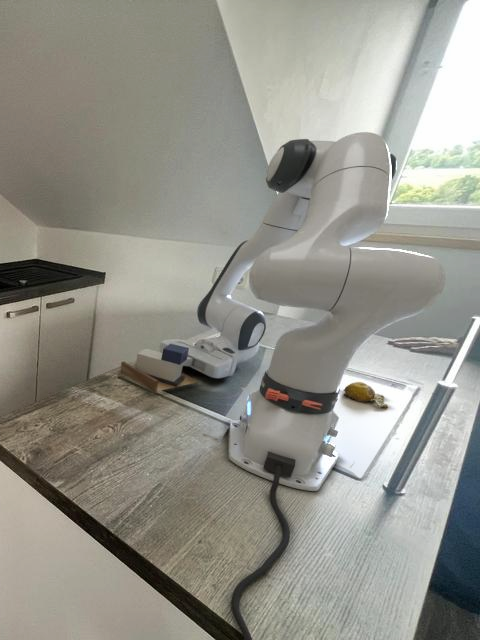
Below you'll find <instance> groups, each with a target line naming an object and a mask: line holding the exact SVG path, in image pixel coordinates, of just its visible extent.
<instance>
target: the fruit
mask: <svg viewBox="0 0 480 640" xmlns="http://www.w3.org/2000/svg"><path fill="white" fill-rule="evenodd" d="M343 392H345V394H346V396H348V397H349V398H351V399H352V400H355V401H356V402H363V403H364V402H368V401H376V402H375V405H376V406H377V407H378V408H380V407H381V408H389V406H388V404H386V403H384V402H385V401H384V400H385V396H384V395H383V394H377V393H376V392H375V390H374V389H373V388H372V386H370V385H368V384H367V383H365V382H362V381H356V382H352V383H350V384H348V385H347V386H345V388H344V389H343ZM348 397H347V398H348Z"/></svg>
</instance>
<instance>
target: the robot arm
mask: <svg viewBox="0 0 480 640" xmlns="http://www.w3.org/2000/svg"><path fill="white" fill-rule="evenodd" d="M397 170H398V161H397V157H396V155H395V154H393V153H391V152H389V147H388V145H387V142H386V140H385V139H384V138H383V137H382V136H380V135H379V134H377V133H375V132H369V131H361V132H353V133H351V134H348V135H346V136H342V137H341V138H339V139H338V140H337V141H333V140H309V139H308V138H299V139H292V140H289V141H287V142H285V143H284V144H282V145H281V146H280V147H279V148H278V149H277V151H276V153H275V154H274V155H273V156H272V158H271V159H270V161H269V164H268V166H267V169H266V176H265V177H266V178H265V182H266V185H267V188H269V189H270V190H272V191H274V192H277V194H276V196H275V198H274V199H273V201H272V202H271V204H270V206H269V207H268V209H267V211H266V213H265V216H264V217H263V219H262V222H261V224H260V225H259V228H258V229H257V230H256V232H255V233H254V234H253V235H252V236H251V237H250V238H249V239H247V240H244V241H243V242H241V243H240V244H239V245H238V246H237V247H236V249H235V250H234V251H233V253H232V254H231V256H230V257H229V259H228V260H227V262H226V263H225V265H224V266H223V268H222V270H221V271H220V273H219V275H218V277H217V278H216V280H215V281H214V283H213V285H212V286H211V288H210V290H209V291H208V293H206V294H205V296H204V297H203V298H202V299H201V301H200V302H199V304H198V306H197V308H196V315H197V320H198V322H199V324H200V325H203V326H205V327H207V328H210V329H213V330H215V331H217V332H219V333H220V335H218V336H212V337H208V338H202V339H199V340H197V341H196V342H195V343H191V342H189V341H186V340H183V339H180V338H179V339H178V338H177V339H176V338H172V339H164V340H161V341H160V343H159V350H158V352H160V353H163V348H165V347H166V346H168V345H169V344H175V345H179V346H183V347H187V348H189V351H188V356H187V359H186V360H185V361H184V363H183V367H190V368H191V369H193V370H195V371H198V372H199V373H202V374H204V375H206V376H207V377H210V378H212V379H223V378H226V377H232V376H234V374H235V372H236V369H237V365H238V364H241V363H245V362H247V361H249V360H250V359H252V358H253V357H255V356H256V355H257V354H258V352H259V350H260V342H261V340H262V339H263V337H264V335H265V332H266V328H267V322H266V316H265V314H264V312H262V311H261V310H258V309H256V308H254V307H252V306H250V305H248V304H244V303H242V302H240V301H237V300H235V299H233V298H232V293H233V291H234V290H235V288H236V287H237V285H238V283H239V282H240V281H241V279H242V278H243V276H244V274H245V273H246V272H247V271H248V270H249V269H250V270H249V273H248V285H249V289H250V291H251V293H252V294H253V296H254V297H255V298H256V299H258V300H261V301H264V302H267V303H271V304H273V305H277V306H280V307H281V306H282V307H287V308H295V309H296V308H297V309H305V310H314V311H321V312H327V313H326V314H325V315H324V316H322V318H320V319H319V320H317V321H316V322H313V323H311V324H307V325H304V326H298V327H295V328H293V329H290V330H288V331H286V332H285V333H283V334H282V335H281V336H279V338H278V339H277V341H276V344H275V346H274V351H273V353H272V356H271V360H270V362H269V366H268V369H267V370H265V372H264V373H263V375H262V377H261V381H260V385H259V389H258V390H256V391H253V392H250V393H249V395H248V396H247V398H246V399H247V400H246V404H245V407H244V410H243V413H242V414H241V415H240V416H239V419H231V420H230V422H229V423H230V425H229V426H228V429H227V432H228V435H227V436H228V437H227V438H228V439H227V441H228V459H229V460H230V461H231V462H232V463H233V464H234V465H236V466H238V467H239V468H240V469H241V468H242V469H243V470H245V471H247V472H250V473H251V474H252V475H253V474H254V475H256V476H258V477H261V478H263V479H266V480H268V481H271V482H272V483H271V487H270V490H269V500H270V504H271V507H272V509H273V511H274V513H275V515H276V517H277V518H278V520H279V522H280V523H281V526H282V536H281V540H280V542H279V544H278V546H277V547H276V548H275V549H274V551H273V552H271V554H270V555H269V556H268V557H267V558H266V560H265V561H264V562H263V563H262V565H261V566H260V567H258V569H256V570H255V571H253V572H251V573H249V575H247V576H246V577H244V578H243V579H242V580H241V581H240V582H239V583H238V584H237V585H236V586H235V588H234V590H233V593H232V595H231V600H230V603H231V605H230V606H231V610H232V614H233V616H234V619H235V621H236V623H237V626H238V627H239V630H240V632H241V634H242V637H243V640H253V637H252V635H251V632H250V630H249V628H248V626H247V624H246V621H245V620H244V617H243V616H242V613H241V610H240V600H241V596H242V594H243V592H244V591H245V589H247V587H248V586H250V585H251V584H252V583H254V582H255V581H257V580H259V578H261V577H263V575H265V574H266V573H267V572H268V571H269V570H270V568H271V567H272V566H273V565H274V563H275V562H276V561H277V560H278V559H279V558H280V557H281V555H282V554H284V552H285V550H286V549H287V547H288V546H289V545H288V544H289V542H290V535H291V530H290V526H289V522H288V521H287V519H286V517H285V515H284V514H283V513H282V511H281V509H280V507H279V505H278V503H277V490H278V487H279V485H282V486H283V485H284V486H286V487H290V488H293V489H297V490H301V491H307V492H317V491H319V490H320V488H321V487H322V486H323V484H324V482H325V481H326V479H327V478H328V476H329V474H330V473H331V472H332V470H333V468H334V467H335V465H336V464H337V463H338V460H339V456H340V454H339V452H337V451H336V450H335V449H336V447H337V445H335V444H334V443H331V439H332V438H336V437H337V436H338V433H339V430H338V429H336V427H337V424H338V422H339V419H340V417H339V416H338V414H337V413H336V412H335V411H334V408H335V405H336V403H337V402H338V400H339V397H340V395H339V394H340V391H341V389H340V387H339V386H340V384H341V382H342V379H343V377H344V375H345V374H346V373H345V372H346V371H347V368H348V367H349V365H350V363H351V361H352V359H353V357H354V355H355V354H356V352H357V351H358V350H359V349H360V348H361V347H362V345H363V344H364V343H366V342H367V341H368V340H369V339H370V338H371V337H373V336H374V335H375V334H377V333H378V332H380V331H381V330H384V329H385V328H386V327H388V326H390V325H392V324H395V323H397V322H399V321H402V320H405V319H407V318H411V317H414V316H418V315H419V314H420V313H423V312H424V311H425V310H427V309H429V308H430V307H431V306H433V304H434V303H436V302H437V300H438V299H439V298H440V296H441V294H442V293H443V290H444V289H445V285H446V273H445V270H444V267H443V265H442V264H441V262H440V261H439V260H438V259H437V258H436V257H434V256H429V255H425V254H422V253H417V252H414V251H413V252H412V251H407V250H402V249H396V248H395V249H393V248H376V247H360V246H359V247H358V246H354V247H353V246H350V245H353V244H356V243H358V242H360V241H362V240H364V239H366V238H369V237H370V236H371V235H373V234H374V233H376V232H377V231H378V230H379V229H380V228H381V227H382V226H383V224H384V223H385V221H386V219H387V217H388V214H389V213H388V211H389V202H390V191H391V183H392V182H393V179H394V177H395V175H396V172H397Z"/></svg>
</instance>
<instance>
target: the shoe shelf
mask: <svg viewBox="0 0 480 640" xmlns="http://www.w3.org/2000/svg"><path fill="white" fill-rule="evenodd" d="M119 369H120V370H119V371H120V373H122V374H123V375H125V376H126V377H128V378H129V379H131V380H133V381H135V382H136V383H137V384H139V385H141V386H142V387H144V388H146V389H147V390H149V391H150V392H152V393H156V392H161V391H164V390H170V389H174V388H178V387H183V386H186V385H191V384H196V383H199V382H200V381H198V380H197V379H195V378H192V377H191V376H189V375H187V374H185V373H184V372H181V376H184V377H185V378H184V381H182V382H181V383H180V384H179V385H178V386H177V387H175V386H172V385H169V384H165V383H162V382H159V381H158V380H156V379H155V378H153V377H151V376H149V375H148V374H146V373H144V372H142V371H141V370H139V369H137V368H135V366H134V365H132V364H130V363H128V362H126V361H121V364H120V368H119Z"/></svg>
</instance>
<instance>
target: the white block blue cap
mask: <svg viewBox="0 0 480 640" xmlns="http://www.w3.org/2000/svg"><path fill="white" fill-rule="evenodd" d="M188 351H189V348H187V347H183V346H179V345H175V344H169V345H168V346H166V347H165V348H163V353H160V352H159V351H156V350H152V349H149V348H144V349H142V350H140V351H139V352H137V355H136V361H135V366H134V367H135V368H137V369H139V370H141V371H142V372H144V373H146V374H148V375H149V376H151V377H153V378H155V379H156V380H158V381H159V382H162V383H165V384H169V385H172V386H175V387H174V388H178V387H177V386H178V385H179V384H180V383H181V382H182V381H184V378H185V377H184V376H181V373H183V372H182V371H183V367H184V366H183V363H184V361H185V360H186V359H187V356H188Z"/></svg>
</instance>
